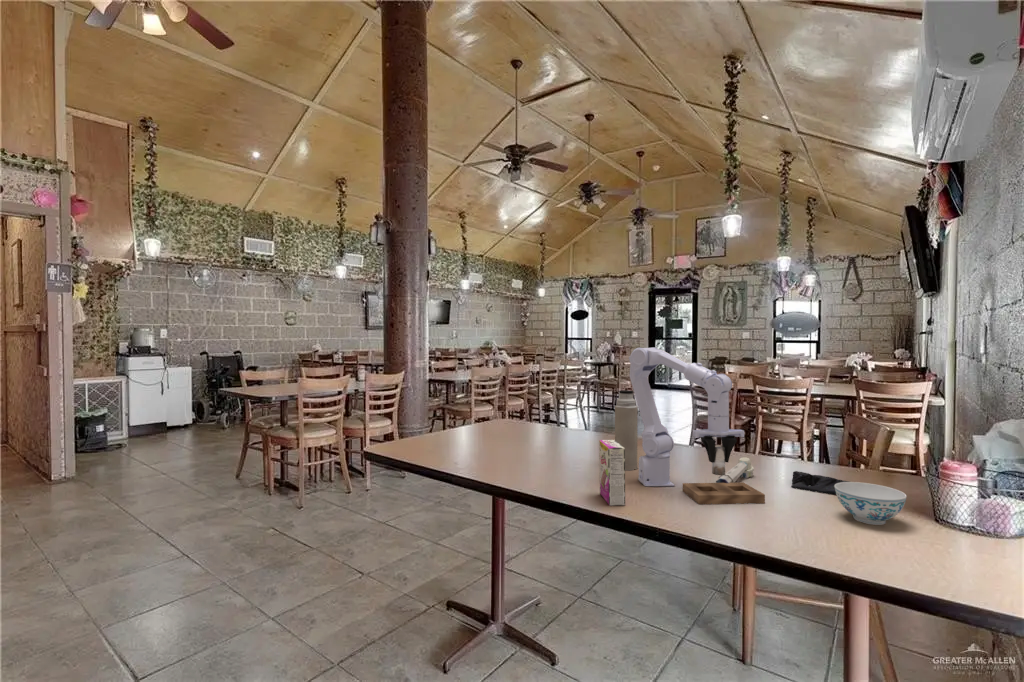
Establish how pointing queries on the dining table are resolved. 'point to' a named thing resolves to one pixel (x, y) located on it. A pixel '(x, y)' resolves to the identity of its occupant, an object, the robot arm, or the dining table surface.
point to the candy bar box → (612, 472)
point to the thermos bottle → (627, 427)
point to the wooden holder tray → (723, 493)
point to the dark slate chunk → (814, 482)
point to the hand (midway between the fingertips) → (718, 461)
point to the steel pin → (719, 460)
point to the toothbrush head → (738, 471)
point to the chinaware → (870, 501)
